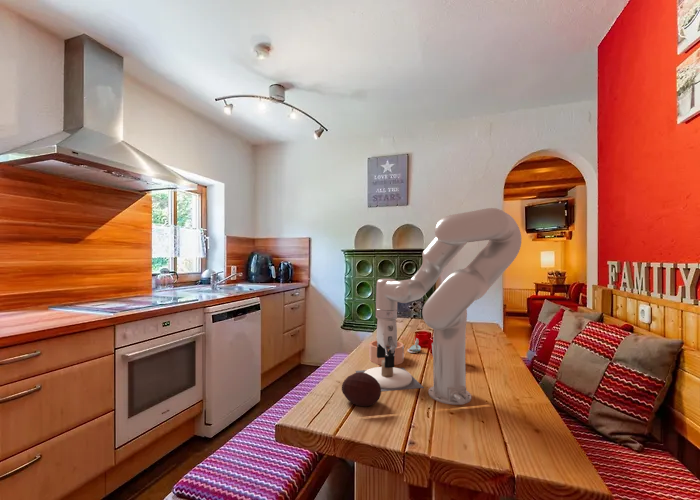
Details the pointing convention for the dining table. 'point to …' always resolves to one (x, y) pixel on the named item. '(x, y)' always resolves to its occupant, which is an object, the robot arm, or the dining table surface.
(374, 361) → the bowl
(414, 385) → the mat
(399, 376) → the lid
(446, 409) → the dining table surface
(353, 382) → the potato
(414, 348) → the pacifier
